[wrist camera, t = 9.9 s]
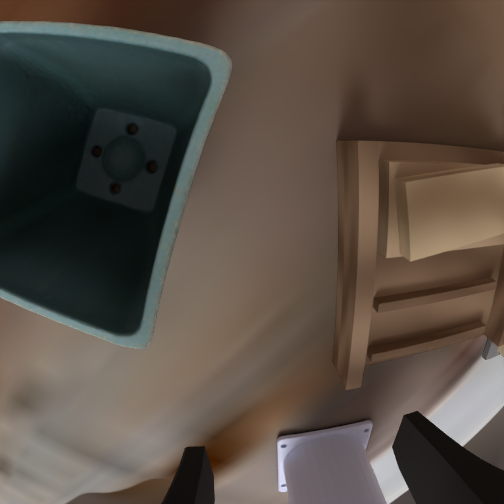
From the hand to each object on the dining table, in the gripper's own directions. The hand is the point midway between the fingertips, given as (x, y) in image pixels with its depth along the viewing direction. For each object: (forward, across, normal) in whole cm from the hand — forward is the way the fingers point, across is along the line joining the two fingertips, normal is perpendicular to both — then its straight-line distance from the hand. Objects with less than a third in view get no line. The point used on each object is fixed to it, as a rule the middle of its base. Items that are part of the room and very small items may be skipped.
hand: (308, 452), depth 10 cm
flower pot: (+10, +7, -10) cm, 16 cm away
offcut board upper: (+8, -10, -7) cm, 15 cm away
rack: (+10, -11, -3) cm, 15 cm away
